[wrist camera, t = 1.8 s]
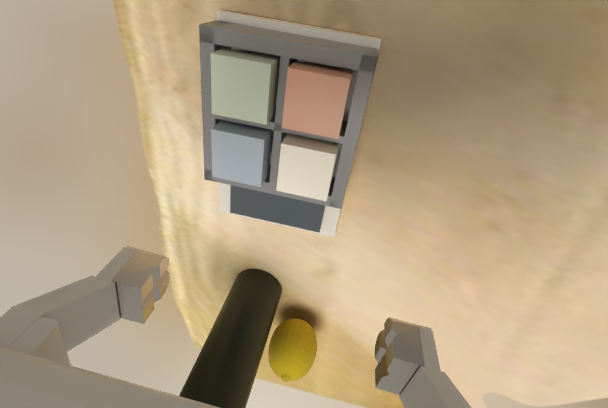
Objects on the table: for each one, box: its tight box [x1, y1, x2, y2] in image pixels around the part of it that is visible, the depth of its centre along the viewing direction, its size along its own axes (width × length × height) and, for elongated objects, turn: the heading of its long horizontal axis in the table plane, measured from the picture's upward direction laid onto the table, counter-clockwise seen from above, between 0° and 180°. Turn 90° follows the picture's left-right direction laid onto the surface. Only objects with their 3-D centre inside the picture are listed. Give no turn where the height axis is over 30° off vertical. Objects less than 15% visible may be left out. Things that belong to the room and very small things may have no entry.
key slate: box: [211, 120, 272, 187], centre depth 26 cm, size 4×4×2 cm
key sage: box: [211, 48, 280, 125], centre depth 24 cm, size 4×4×2 cm
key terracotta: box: [282, 61, 353, 139], centre depth 23 cm, size 4×4×2 cm
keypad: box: [199, 10, 382, 237], centre depth 28 cm, size 18×12×4 cm, turn 172°
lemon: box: [269, 318, 317, 381], centre depth 40 cm, size 6×6×8 cm
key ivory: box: [276, 133, 339, 201], centre depth 26 cm, size 4×4×2 cm
